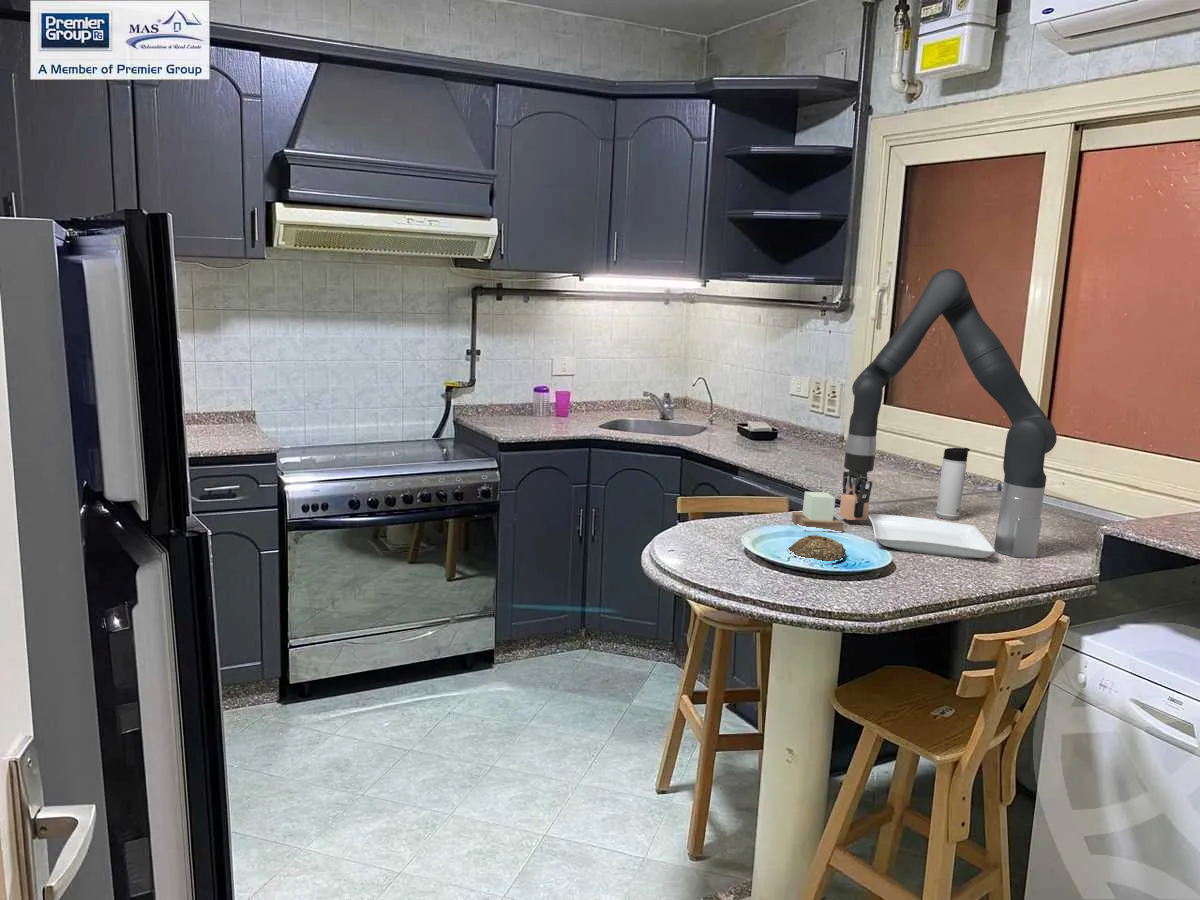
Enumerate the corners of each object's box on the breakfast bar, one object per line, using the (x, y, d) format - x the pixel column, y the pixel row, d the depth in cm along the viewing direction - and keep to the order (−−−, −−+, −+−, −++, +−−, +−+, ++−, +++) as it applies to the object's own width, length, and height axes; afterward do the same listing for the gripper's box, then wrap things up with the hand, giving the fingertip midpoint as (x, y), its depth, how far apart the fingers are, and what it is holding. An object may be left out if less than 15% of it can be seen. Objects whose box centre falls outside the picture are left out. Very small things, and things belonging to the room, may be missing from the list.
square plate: (994, 566, 217) (997, 550, 217) (873, 551, 223) (875, 535, 222) (974, 537, 243) (976, 522, 243) (865, 525, 249) (867, 510, 248)
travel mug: (963, 521, 260) (973, 450, 256) (939, 519, 260) (949, 448, 256) (955, 515, 266) (965, 446, 262) (932, 514, 266) (941, 444, 263)
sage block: (832, 520, 239) (835, 497, 238) (810, 519, 238) (812, 496, 237) (824, 514, 245) (827, 492, 244) (802, 514, 244) (804, 491, 243)
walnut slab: (842, 532, 237) (843, 523, 237) (804, 531, 236) (805, 521, 236) (828, 522, 247) (829, 513, 247) (791, 521, 246) (792, 511, 246)
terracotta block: (867, 520, 246) (869, 499, 245) (847, 519, 245) (849, 499, 244) (858, 515, 251) (861, 495, 251) (839, 514, 251) (841, 494, 250)
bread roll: (851, 556, 217) (853, 535, 216) (835, 568, 206) (838, 546, 206) (798, 545, 223) (800, 525, 222) (780, 556, 213) (782, 535, 212)
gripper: (885, 457, 239) (878, 521, 242) (863, 447, 253) (856, 508, 256) (857, 456, 238) (850, 520, 241) (836, 446, 252) (830, 507, 255)
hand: (853, 514), depth 248 cm, fingers closed on terracotta block, 5 cm apart
